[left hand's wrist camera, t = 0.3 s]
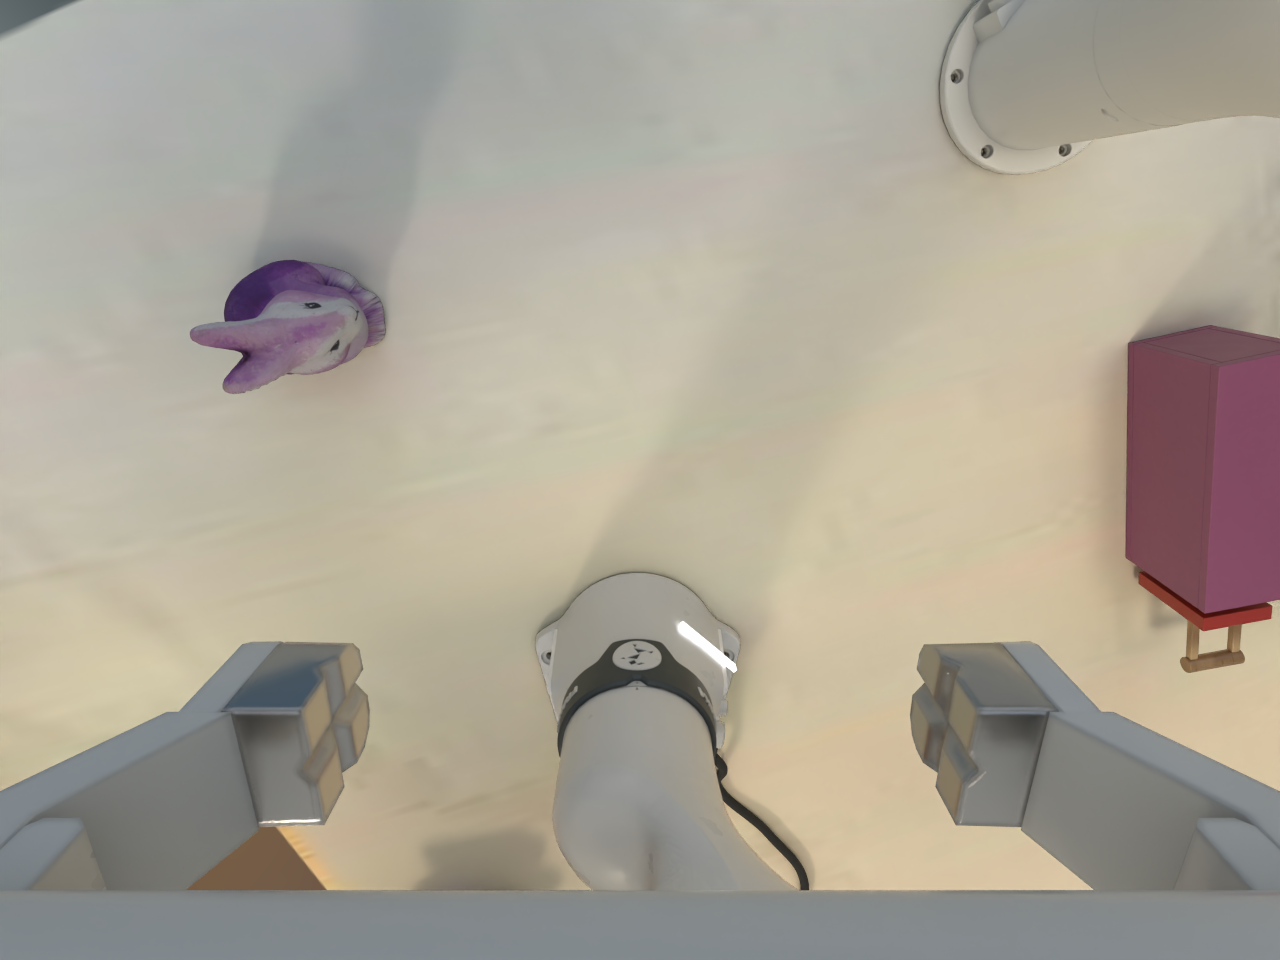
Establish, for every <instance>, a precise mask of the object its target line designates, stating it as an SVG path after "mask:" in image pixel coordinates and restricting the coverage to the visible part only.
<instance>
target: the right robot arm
mask: <svg viewBox="0 0 1280 960" xmlns="http://www.w3.org/2000/svg"><path fill="white" fill-rule="evenodd" d="M951 75H954V76H955V81H954V82H952V81H951ZM940 104H941V109H942V114H943V119H944V122H945V125H946V127H947V130H948V132H949V135H950V137H951V138H952V140H953V141H954V143H955V144H956V146H957V147H958V148H959V150H960V151H961V152H962V153H963V154H964V155H965V156H966V157H968V158H969V159H970V160H971V161H972V162H974V163H976V164H977V165H979V166H981V167H982V168H984V169H987V170H990V171H993V172H997V173H1000V174H1011V175H1020V174H1031V173H1036V172H1040V171H1044V170H1048V169H1050V168H1053V167H1055V166H1057V165H1060V164H1062V163H1064V162H1066V161H1067V160H1069V159H1071V158H1072V157H1074V156H1075V155H1077V154H1078V153H1080V152H1081V151H1082V150H1083V149H1084V148H1085V147H1087V146H1088V145H1089V144H1090V143H1091V142H1092V141H1093V140H1094V139H1100V138H1106V137H1112V136H1118V135H1124V134H1130V133H1136V132H1142V131H1148V130H1154V129H1160V128H1166V127H1172V126H1178V125H1182V124H1187V123H1193V122H1199V121H1205V120H1212V119H1218V118H1226V117H1236V116H1267V117H1276V118H1280V0H979V1H978V2H977V3H976V4H975V5H974V6H973V7H972V8H971V10H970V11H969V12H968V14H967V15H966V16H965V18H964V19H963V21H962V22H961V23H960V25H959V26H958V28H957V30H956V32H955V34H954V36H953V38H952V40H951V42H950V44H949V47H948V50H947V53H946V56H945V59H944V62H943V67H942V73H941V80H940ZM1059 148H1061V153H1060V154H1059ZM982 149H984V151H985V153H984V155H983V156H981V150H982Z"/></svg>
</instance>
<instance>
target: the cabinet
mask: <svg viewBox="0 0 1280 960" xmlns="http://www.w3.org/2000/svg"><path fill="white" fill-rule="evenodd" d="M1126 558H1127V559H1128V560H1130V561H1131V562H1133V563H1134V564H1135V565H1137V566H1138V567H1140V568H1141V569H1143V570H1144V571H1145V572H1147V573H1148V574H1150V575H1151V576H1152V577H1154V578H1155V579H1157V580H1158V581H1160V582H1161V583H1162V584H1164V585H1165V586H1167V587H1168V588H1169V589H1171V590H1172V591H1174V592H1175V593H1176V594H1178V595H1179V596H1181V597H1182V598H1184V599H1185V600H1186V601H1188V602H1189V603H1191V604H1192V605H1193V606H1195V607H1196V608H1198V609H1199V610H1200V611H1202V612H1203V613H1211V612H1216V611H1222V610H1227V609H1232V608H1238V607H1243V606H1248V605H1254V604H1259V603H1264V602H1270V601H1275V600H1280V339H1279V338H1274V337H1269V336H1263V335H1258V334H1253V333H1248V332H1243V331H1238V330H1232V329H1227V328H1222V327H1217V326H1212V325H1210V326H1205V327H1201V328H1196V329H1191V330H1187V331H1182V332H1178V333H1173V334H1168V335H1164V336H1159V337H1155V338H1150V339H1145V340H1141V341H1136V342H1132V343H1129V348H1128V427H1127V507H1126Z"/></svg>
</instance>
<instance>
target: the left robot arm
mask: <svg viewBox="0 0 1280 960" xmlns="http://www.w3.org/2000/svg"><path fill="white" fill-rule="evenodd" d="M535 648H536V652H537V655H538V659H539V662H540V666H541V669H542V672H543V676H544V679H545V683H546V686H547V692H548V694H549V696H550V700H551V703H552V707H553V710H554V713H555V717H556V720H557V724H558V728H557V732H558V751H559V756H560V763H559V770H558V776H557V783H556V790H555V797H554V804H553V811H552V821H553V829H554V834H555V837H556V841H557V843H558V846H559V848H560V850H561V852H562V854H563V855H564V857H565V859H566V860H567V862H568V864H569V865H570V866H571V868H572V869H573V871H574V872H575V873H576V875H577V876H578V877H579V878H580V880H581V881H582V882H583V883H584V884H585V885H587V886H588V887H589V888H590V889H592V890H186V889H188V888H189V887H190V886H191V885H193V884H194V883H195V882H196V881H197V880H199V879H200V878H201V877H202V876H204V875H205V874H206V873H207V872H208V871H210V870H211V869H212V868H213V867H215V866H216V865H217V864H218V863H219V862H221V861H222V860H223V859H224V858H226V857H227V856H228V855H229V854H231V853H232V852H233V851H234V850H235V849H237V848H238V847H239V846H240V845H242V844H243V843H244V842H245V841H247V840H248V839H249V838H250V837H251V836H253V835H254V834H255V833H256V832H257V831H258V830H259V828H258V827H276V826H311V825H324V824H325V823H326V821H327V819H328V817H329V815H330V813H331V811H332V809H333V807H334V806H335V804H336V802H337V800H338V798H339V796H340V794H341V792H342V790H343V788H344V781H343V775H342V772H344V771H345V770H347V769H348V768H350V767H351V766H353V765H354V764H356V763H357V761H358V759H359V757H360V755H361V753H362V751H363V749H364V747H365V743H366V739H367V734H368V730H369V715H370V709H369V702H368V696H367V694H366V693H365V692H364V691H363V690H362V689H361V688H360V687H359V686H358V685H357V684H356V683H355V682H356V680H357V679H358V677H359V675H360V674H361V672H362V670H363V665H362V660H361V655H360V650H359V649H358V648H357V647H356V646H355V645H354V644H353V643H316V642H285V643H284V642H249V643H246V644H242V645H241V646H240V647H239V648H238V649H237V651H236V652H235V653H234V654H233V655H232V656H231V657H230V658H229V659H228V660H227V661H226V662H225V663H224V664H223V665H222V666H221V668H220V669H219V670H218V671H217V672H216V673H215V674H214V675H213V676H212V677H211V678H210V679H209V680H208V681H207V682H206V683H205V684H204V686H203V687H202V688H201V689H200V690H199V691H198V692H197V693H196V694H195V695H194V696H193V697H192V698H191V699H190V700H189V701H188V702H187V704H186V705H185V706H184V707H183V708H182V709H181V710H180V711H179V712H166V713H164V714H162V715H160V716H157V717H155V718H153V719H151V720H149V721H147V722H145V723H143V724H141V725H139V726H136V727H134V728H132V729H130V730H128V731H126V732H124V733H122V734H120V735H118V736H115V737H113V738H111V739H109V740H107V741H105V742H103V743H101V744H99V745H97V746H94V747H92V748H90V749H88V750H86V751H84V752H82V753H80V754H78V755H75V756H73V757H71V758H69V759H67V760H65V761H63V762H61V763H59V764H57V765H54V766H52V767H50V768H48V769H46V770H44V771H42V772H40V773H38V774H36V775H33V776H31V777H29V778H27V779H25V780H23V781H21V782H19V783H17V784H15V785H12V786H10V787H8V788H6V789H4V790H2V791H0V960H1280V791H1278V790H1276V789H1273V788H1271V787H1269V786H1267V785H1265V784H1263V783H1261V782H1259V781H1257V780H1255V779H1252V778H1250V777H1248V776H1246V775H1244V774H1242V773H1240V772H1238V771H1236V770H1234V769H1232V768H1229V767H1227V766H1225V765H1223V764H1221V763H1219V762H1217V761H1215V760H1213V759H1211V758H1208V757H1206V756H1204V755H1202V754H1200V753H1198V752H1196V751H1194V750H1192V749H1190V748H1188V747H1185V746H1183V745H1181V744H1179V743H1177V742H1175V741H1173V740H1171V739H1169V738H1167V737H1164V736H1162V735H1160V734H1158V733H1156V732H1154V731H1152V730H1150V729H1148V728H1146V727H1143V726H1141V725H1139V724H1137V723H1135V722H1133V721H1131V720H1129V719H1127V718H1125V717H1123V716H1120V715H1118V714H1116V713H1114V712H1101V711H1100V710H1099V709H1098V708H1097V707H1096V706H1095V705H1094V703H1093V702H1092V701H1091V700H1090V699H1089V698H1088V697H1087V696H1086V695H1085V694H1084V693H1083V692H1082V691H1081V690H1080V689H1079V688H1078V687H1077V685H1076V684H1075V683H1074V682H1073V681H1072V680H1071V679H1070V678H1069V677H1068V676H1067V675H1066V674H1065V673H1064V672H1063V671H1062V670H1061V668H1060V667H1059V666H1058V665H1057V664H1056V663H1055V662H1054V661H1053V660H1052V659H1051V658H1050V657H1049V656H1048V655H1047V654H1046V653H1045V651H1044V650H1043V649H1042V648H1041V647H1040V646H1039V645H1037V644H1035V643H1032V642H1030V641H1021V642H994V643H965V644H924V645H923V648H922V650H921V652H920V654H919V659H918V665H917V670H918V672H919V674H920V675H921V677H922V679H923V680H924V682H925V683H924V684H923V685H922V686H921V687H920V688H919V689H918V690H917V691H916V692H915V693H914V694H913V696H912V704H911V712H910V719H911V730H912V736H913V740H914V743H915V746H916V749H917V751H918V753H919V755H920V757H921V759H922V761H923V763H924V764H926V765H927V766H929V767H930V768H932V769H933V770H935V771H936V772H938V775H937V781H936V788H937V790H938V792H939V794H940V796H941V798H942V800H943V802H944V804H945V805H946V807H947V809H948V811H949V813H950V815H951V817H952V819H953V821H954V822H955V824H956V825H968V826H1003V827H1022V828H1021V830H1022V831H1023V832H1024V833H1025V834H1026V835H1028V836H1029V837H1030V838H1031V839H1033V840H1034V841H1035V842H1036V843H1037V844H1039V845H1040V846H1041V847H1042V848H1044V849H1045V850H1046V851H1047V852H1048V853H1050V854H1051V855H1052V856H1053V857H1055V858H1056V859H1057V860H1058V861H1059V862H1061V863H1062V864H1063V865H1064V866H1066V867H1067V868H1068V869H1069V870H1070V871H1072V872H1073V873H1074V874H1075V875H1077V876H1078V877H1079V878H1080V879H1082V880H1083V881H1084V882H1085V883H1086V884H1088V885H1089V886H1090V887H1091V888H1093V889H1094V890H809V883H808V878H807V875H806V873H805V870H804V868H803V867H802V865H801V863H800V862H799V860H798V859H797V858H796V857H795V855H794V854H793V853H792V852H791V851H790V850H789V849H788V848H787V847H786V846H785V845H784V844H783V843H782V842H781V841H780V840H779V839H778V837H777V836H776V835H775V834H774V833H773V832H772V831H771V830H770V829H769V828H768V827H767V826H766V825H765V824H764V823H763V822H762V821H761V820H760V819H759V818H758V817H756V816H755V815H754V814H753V813H751V812H750V811H749V810H747V809H746V808H745V807H743V806H742V805H741V804H740V803H738V802H737V801H736V800H735V799H733V798H732V797H731V796H730V795H729V794H728V793H727V792H726V791H725V789H724V788H723V786H722V784H721V782H720V781H721V780H722V779H723V778H724V777H725V776H726V774H727V765H726V763H725V762H724V760H723V759H722V758H721V757H720V756H719V755H718V754H717V750H718V748H722V746H723V743H724V738H725V725H724V723H723V722H722V721H719V720H720V716H726V715H727V710H728V701H727V700H725V699H726V696H727V692H728V689H729V685H730V682H731V678H732V675H733V672H735V671H736V665H735V664H736V661H737V657H738V654H739V650H740V637H739V635H738V633H737V632H736V631H734V630H733V629H732V628H730V627H729V626H727V625H725V624H724V623H722V622H720V621H718V620H716V619H715V618H714V617H713V615H712V614H711V613H710V612H709V610H708V609H707V607H706V606H705V605H704V603H703V602H702V601H701V600H700V599H699V598H698V597H697V595H695V594H694V593H693V592H692V591H691V590H689V589H688V588H687V587H685V586H684V585H682V584H680V583H678V582H676V581H674V580H672V579H669V578H667V577H663V576H660V575H655V574H649V573H626V574H620V575H616V576H612V577H609V578H606V579H603V580H601V581H599V582H597V583H595V584H593V585H592V586H590V587H589V588H587V589H586V590H585V591H583V592H582V593H581V594H580V595H579V596H578V597H577V598H576V599H575V600H574V601H573V603H572V604H571V605H570V607H569V608H568V610H567V611H566V612H565V614H564V615H563V616H562V617H561V618H560V619H559V620H557V621H556V622H554V623H552V624H550V625H549V626H547V627H546V628H544V629H543V630H541V631H540V632H539V633H538V634H537V636H536V641H535ZM548 652H551V655H549V654H548ZM724 652H727V653H728V654H727V655H724ZM715 765H716V766H717V767H718V768H719V770H718V771H717V772H716V768H715ZM723 801H724V802H725V803H726V804H727V805H728V806H730V807H731V808H732V809H733V810H734V811H736V812H737V813H738V814H740V815H741V816H742V817H744V818H745V819H746V820H748V821H749V822H750V823H751V824H753V825H754V826H755V827H756V828H757V829H758V830H759V831H761V832H762V833H763V834H764V836H765V837H766V838H767V839H768V840H769V841H770V842H771V843H772V844H773V845H774V846H775V847H776V848H777V849H778V850H779V851H780V852H781V853H782V854H783V855H784V856H785V857H786V858H787V860H788V861H789V862H790V863H791V864H792V865H793V867H794V868H795V870H796V872H797V874H798V876H799V879H800V884H801V890H798V889H796V888H795V887H794V886H792V885H791V884H789V883H788V882H787V881H785V880H784V879H783V878H782V877H781V876H779V875H778V874H777V873H776V872H775V871H774V870H772V869H771V868H770V867H769V866H768V865H767V864H766V863H765V862H764V861H763V860H762V859H761V858H760V857H759V856H758V855H757V854H756V853H755V852H754V850H753V849H752V848H751V847H750V846H749V845H748V844H747V843H746V841H745V840H744V839H743V837H742V836H741V835H740V834H739V832H738V831H737V829H736V828H735V826H734V825H733V823H732V821H731V819H730V817H729V816H728V814H727V811H726V809H725V806H724V802H723Z"/></svg>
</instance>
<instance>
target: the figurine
mask: <svg viewBox="0 0 1280 960" xmlns="http://www.w3.org/2000/svg"><path fill="white" fill-rule="evenodd" d="M383 313H384V312H383V307H382V303H381V302H380V299H379V298H378V297H377V296H376V295H375V294H374V293H371V292H369V291H367V290H365V289H363V288H361V287H360V285H359V283H358V281H357V280H356V279H355V278H354V277H353V276H351V275H350V274H349V273H347V272H344V271H341V270H338V269H335V268H332V267H327V266H324V265H320V264H314V263H309V262H301V261H296V260H283V261H277V262H273V263H270V264H268V265H265V266H263V267H261V268H259V269H258V270H256V271H254V272H252V273H251V274H249V275H248V276H246V277H245V278H244V279H242V280H241V281H240V282H239V283H238V284H237V285H236V286H235V287H234V288H233V290H232V291H231V292H230V294H229V296H228V298H227V300H226V303H225V309H224V319H225V322H216V323H209V324H204V325H200V326H197V327H195V328H193V329H192V330H191V331H190V337H191V339H192V340H193V341H195V342H197V343H199V344H201V345H204V346H209V347H215V348H222V349H228V350H235V351H238V352H241V353H242V355H243V357H242V359H241V360H240V361H239V363H238V364H237V365H236V366H235V367H234V368H233V369H232V370H231V372H230V373H229V374H228V375H227V377H226V378H225V379H224V382H223V389H224V391H225V392H227V393H232V394H234V393H236V394H239V393H245V392H246V391H252V390H253V389H258V388H260V387H261V386H263V385H267V384H268V383H269V382H271V381H274V380H276V379H278V378H279V377H280V376H284V375H285V374H303V375H309V374H316V373H321V372H325V371H328V370H331V369H333V368H335V367H337V366H338V365H340V364H342V363H345V362H347V361H349V360H351V359H353V358H354V357H356V356H357V355H358V353H359V352H360V351H361V350H362V349H363V348H365V347H369V346H372V345H376V344H377V343H379V342H380V341H381V340H382V339H383V338H384V334H385V325H384V323H385V322H384V315H383Z"/></svg>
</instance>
